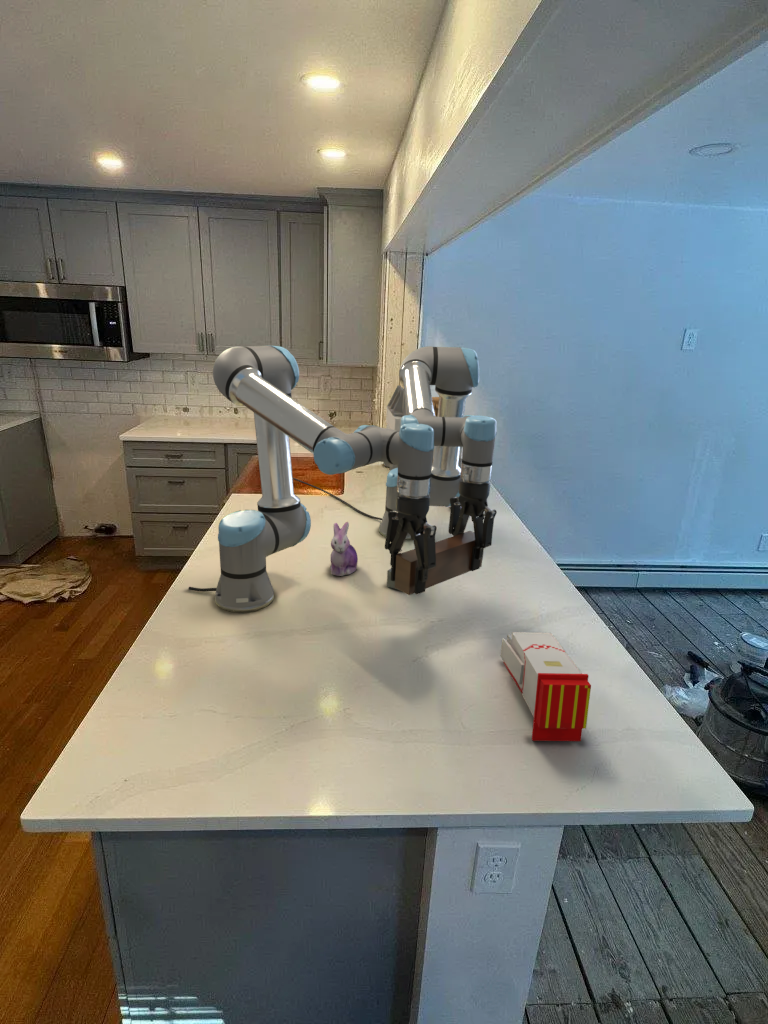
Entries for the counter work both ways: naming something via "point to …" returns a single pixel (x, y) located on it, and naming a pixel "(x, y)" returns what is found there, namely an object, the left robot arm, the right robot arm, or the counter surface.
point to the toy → (548, 685)
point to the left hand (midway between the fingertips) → (407, 585)
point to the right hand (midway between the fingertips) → (466, 565)
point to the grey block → (389, 582)
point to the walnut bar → (437, 562)
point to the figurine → (342, 552)
